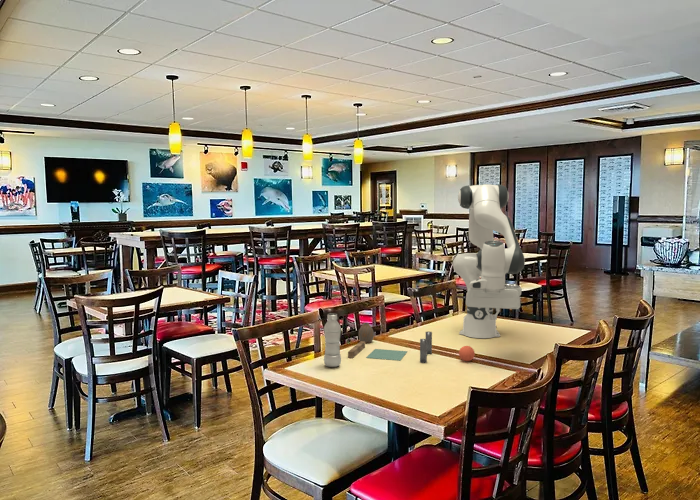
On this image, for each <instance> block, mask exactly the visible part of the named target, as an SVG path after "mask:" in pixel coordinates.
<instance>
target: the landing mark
mask: <svg viewBox="0 0 700 500" xmlns="http://www.w3.org/2000/svg"><path fill="white" fill-rule="evenodd" d="M407 353H408V351H406V350H395V349H393V350H392V349H381V348H375V349H373V350H372V351H371V352H370V353H369V354H368V355H367V356H366V357H365V358H367V359H374V360H375V359H376V360H385V359H386V360H387V361H397V362H399V361H400V362H401V361H402V359H403V358H404V357H405V356H406V354H407ZM386 360H385V361H386Z"/></svg>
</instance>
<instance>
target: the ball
mask: <svg viewBox="0 0 700 500" xmlns="http://www.w3.org/2000/svg"><path fill="white" fill-rule="evenodd" d="M475 354H476V353H475V349H473V347H471V346H470V345H464V346H462V347H461V348H460V349H459V351H458V355H459V358H460V359H461V360H462V361H464V362H470V361H472V360H474V358H475V356H476V355H475Z"/></svg>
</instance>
